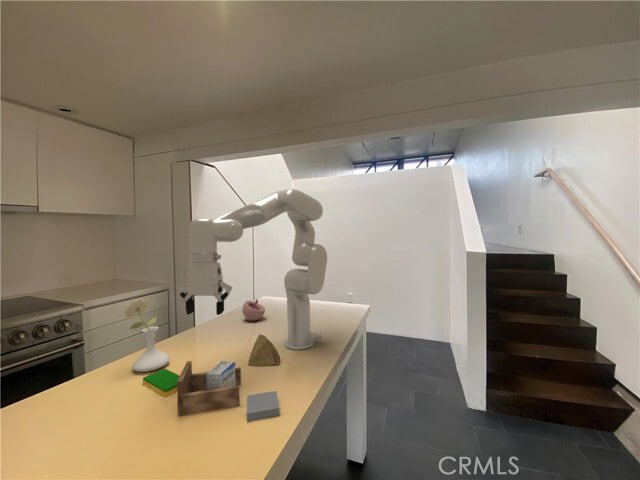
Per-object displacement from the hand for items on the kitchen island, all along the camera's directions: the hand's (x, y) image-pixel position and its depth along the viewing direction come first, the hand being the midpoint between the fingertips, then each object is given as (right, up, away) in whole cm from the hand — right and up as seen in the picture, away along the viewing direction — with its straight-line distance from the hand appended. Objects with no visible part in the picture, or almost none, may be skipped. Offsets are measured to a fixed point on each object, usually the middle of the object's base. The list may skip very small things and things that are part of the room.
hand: (205, 313), depth 86 cm
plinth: (+21, -22, -13) cm, 33 cm away
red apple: (0, -21, +64) cm, 68 cm away
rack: (+5, -22, -7) cm, 24 cm away
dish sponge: (-13, -23, 0) cm, 26 cm away
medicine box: (+8, -22, -7) cm, 25 cm away
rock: (+16, -22, +13) cm, 30 cm away
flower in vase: (-25, -23, +12) cm, 36 cm away
